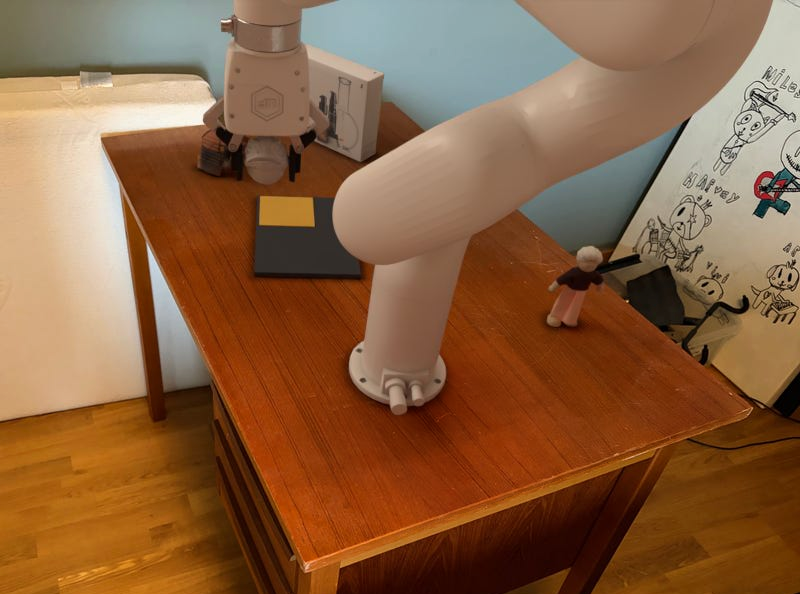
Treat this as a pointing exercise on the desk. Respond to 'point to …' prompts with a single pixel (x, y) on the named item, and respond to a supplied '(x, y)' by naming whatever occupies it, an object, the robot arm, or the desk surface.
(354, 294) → the desk surface
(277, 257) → the desk mat
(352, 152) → the white product box
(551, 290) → the grandmother figurine
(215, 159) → the pottery mug
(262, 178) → the carved stone head
